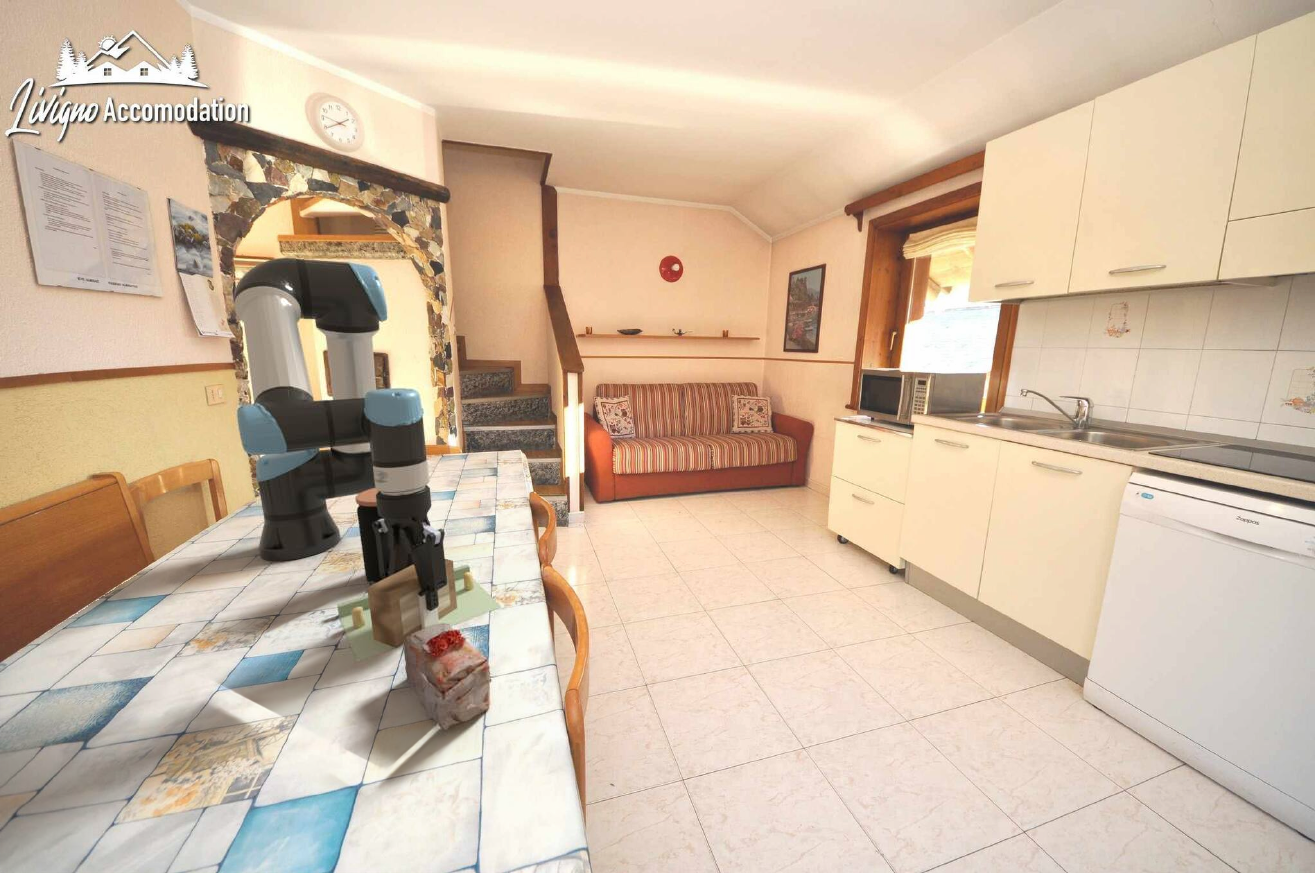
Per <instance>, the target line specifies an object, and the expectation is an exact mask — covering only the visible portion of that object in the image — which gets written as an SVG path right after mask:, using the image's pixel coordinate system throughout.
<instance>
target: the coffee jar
mask: <svg viewBox="0 0 1315 873" xmlns="http://www.w3.org/2000/svg"><path fill="white" fill-rule="evenodd" d="M378 492H379V491H378V490H376V489H375V488H373V489H369V490H366V491H364V492H361V493H359V494H356V495H355V496H354V497H355V503H356V504H357V505H358V507H357V508H356V513H357V522H358V528H359V535H360V543H361V544H360V545H361V550H362V551H361V552H362V558H363V566H364V574H365V580H366V581H367V582H368V583H371V582H373V583H374V584H375V583H377V582H379V581H381V580H383V579H385V578H382V577H381V576H380V570H379V561H378V552H377V544H376V536H375V533H374V530H373V527H372V523H373V522H375V521H378V520H380V519H383V518H382V517H380V516H379V514H378V510H377V501H376V494H377V493H378ZM420 544H421V543H420ZM418 545H419V544H418ZM415 546H417V545H415ZM415 546H414V547H415ZM413 564H414V563H413V560H412V556H411V554H408V560H407V567H409V566H411V565H413ZM388 568H389V567H387V569H388Z"/></svg>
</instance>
